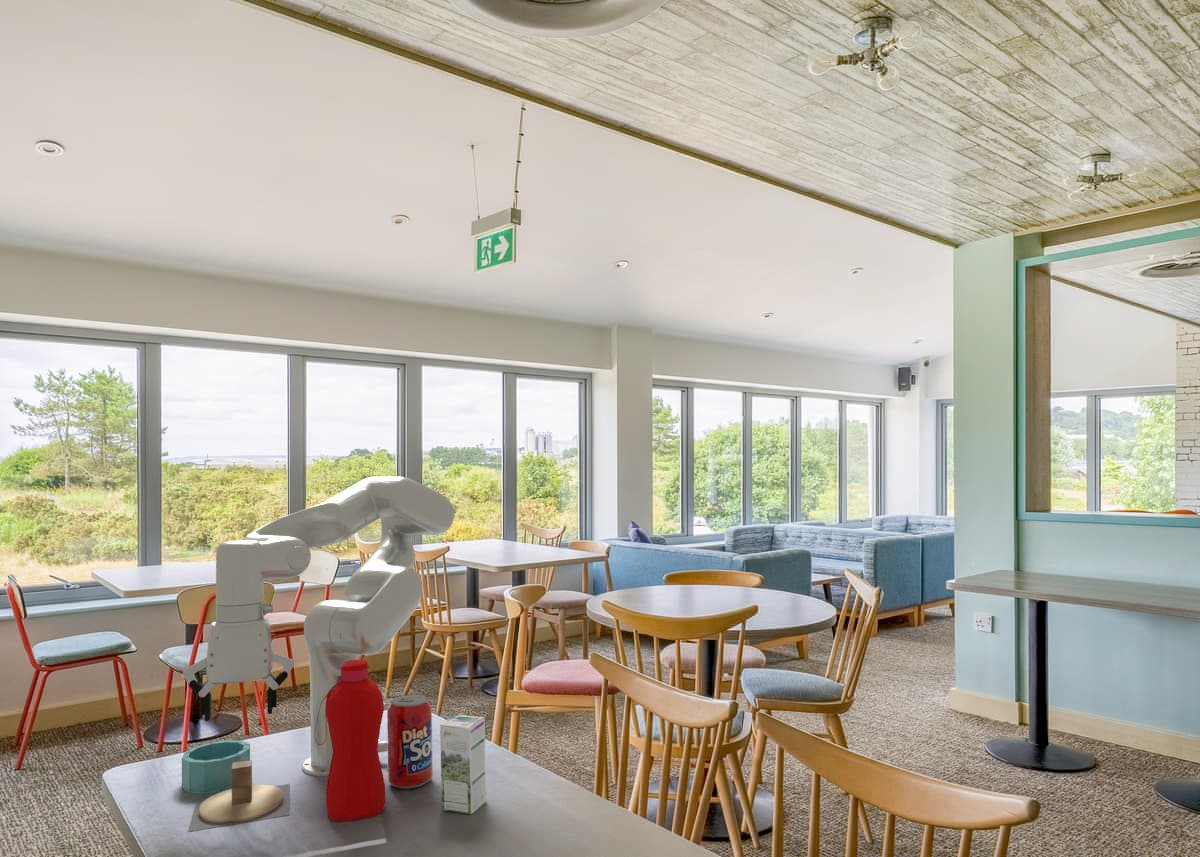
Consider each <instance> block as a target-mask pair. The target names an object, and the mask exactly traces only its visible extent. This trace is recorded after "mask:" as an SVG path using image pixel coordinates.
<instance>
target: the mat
mask: <svg viewBox="0 0 1200 857" xmlns="http://www.w3.org/2000/svg"><path fill="white" fill-rule="evenodd" d="M274 786H275V787H278V788H280V789H281V790H282V791H283V803H282V804H281V805H280V806H279V807H278V808H277V809H275V810H274V811H272V812H270V813H268V814H266V815H264V816H261V817H258V818H255V819H251V820H247V821H242V822H236V823H211V822H207V821H205V820H203V819H201V817H200V815H199V808H200V805H201V804H202V802H203V801H205V800H206V799H207V798H209V797H211V796H212V795H208V796H207V795H206V796H199V797H197V799H196V802H195V806H194V810H193V813H192V816H191V820H190V822H189V826H188V829H187V832H188V833H191V832H198V831H204V830H208V829H214V828H215V829H216V828H222V827H229V826H233V825H240V824H246V823H252V822H257V821H258V822H259V821H264V820H270V819H276V818H282V817H288V816H290V807H291V806H290V803H291V802H290V800H291V798H290V797H291V796H290V795H291V794H290V792H291V791H290V790H291V785H290V783H286V784H279V785H274Z"/></svg>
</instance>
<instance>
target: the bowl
mask: <svg viewBox="0 0 1200 857" xmlns="http://www.w3.org/2000/svg"><path fill="white" fill-rule="evenodd" d="M248 760H251V744H250V743H248V742H245V741H243V740H221V741H219V740H218V741H212V742H207V743H204V744H201V745H200V744H199V745H197V746H194V747H192V748H191V749H189V750H186V751H185V752H183V755H182V758H181V787H182V789H183V790H184V792H187V793H190V794H196V795H197V794H202V795H203V794H212V793H213V794H214V793H219V792H222V791H225V790H228V789H232V764H233V763H234V762H241V761H248Z"/></svg>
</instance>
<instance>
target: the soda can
mask: <svg viewBox="0 0 1200 857" xmlns="http://www.w3.org/2000/svg"><path fill="white" fill-rule="evenodd" d="M428 699H429V697H427V696H426V695H423V694H406V695H401V696H397V697H395V698H393V699H391V701H390V703H391V704H390V706H389V707H388V709H387V712H386V720H387V722H386V725H387V726H386V727H387V729H386V730H387V745H388V751H387V780H388V783H389V784H390V785H391V786H393V787H395V788H397V789H399V790H400V789H401V790H412V789H417V788H421V787H423V786H424V785H425V784H427V783H428V782H430V780H432V778H433V775H434V774H433V773H434V772H433V771H434V770H433V768H434V767H433V723H432V722H433V716H432V715H433V714H432V712H433V711H432V705H431V704H430V702H429V701H428Z"/></svg>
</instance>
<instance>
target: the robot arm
mask: <svg viewBox="0 0 1200 857" xmlns="http://www.w3.org/2000/svg"><path fill="white" fill-rule="evenodd" d="M379 519H380V526H381V528H380V529H381V538H380V543H379V545H378V547H377V548H376V549H375V550H374V551H373V553H371V555H370V556H369V557H368V558H367V559H366V560H365V561H364V562H363V563H362V564H361V565H360V566H359V567H358V568H357V569H356V570H355V572H354V573H353V574H352V575H351V577H349V579H348V581H347V582H346V584H345V587H344V593H343V594H344V599H345V600H344V599H328V600H323V601H320V602H318V603H316V604H314V605H313V606H312V607H311V608H310V610H308V612H307V614H306V616H305V620H304V624H303V633H304V641H305V646H306V650H307V655H308V661H309V684H310V685H309V692H310V693H309V696H310V697H309V698H310V699H309V700H310V701H309V702H310V704H309V705H310V707H309V708H310V709H309V710H310V711H309V712H310V714H309V715H310V716H309V718H310V719H309V720H310V756H309V757H308V758H307V759H305V760H304V761H303V763H302V764H301V767H302V769H301V770H302V772H303V773H305V774H307V775H309V776H315V777H328V775H329V770H330V765H331V760H332V755H333V749H332V743H331V737H330V732H329V726H328V722H327V717H326V716H325V707H326V700H327V696H326V695H327V694H328V692H329V690H330V689H331V688H332V687H333V686H334V685H335V684H336V683H337V680H339V677H338V676H341V665H342V664H343V663H345V662H347V661H349V660H360V658H359V656H358V655H364V656H365V655H366V656H367V655H369V656H370V655H374V654H377V653H379V652H380V651H382V650H383V649H384V648H386V647H387V645H388V644H389V643H390V642H391V641H392V640H393V639H394V638H395V636H396V635H397V634H398V632H399V631H401V628H402V627H403V626H404V625H405V624H406V623H407V621H408V620H409V619H410V617H411V616H412V615H413V614H414V612H415V611H416V610H417V608H418V606H419V604H420V601H421V599H422V594H423V581H422V578H421V576H420V575H419V573H418V572H417V571H416V570H415V569H413V568H414V565H415V564H416V563H415V562H416V553H415V548H414V543H413V537H412V536H413V535H422V536H423V535H425V536H427V535H428V536H434V535H436V536H438V535H441V534H444V533H446V532H447V531H448V530H450V528H451V527H452V525H453V522H454V521H455V520H454V519H455V511H454V506H453V504H452V502H451V501H450V500H449V498H448V497H446V496H445V495H443V494H441V492H438V491H436V490H434V489H432V488H430V487H428V486H426V485H424V484H422V483H421V482H418V481H417V480H414V479H411V478H408V477H406V476H400V475H399V476H396V475H395V476H370V477H366V478H364V479H362V480H360V481H358V482H356V483H354V484H352V485H351V486H349V487H347V488H346V489H344V490H343V491H340V492H339V493H338V494H335V495H334V496H332V497H330V498H328V499H327V500H325V501H323V502H320V503H319V504H318V503H317V504H316V505H312V506H309V507H306V508H304V509H301V510H299V511H296V512H293V513H291V514H287V515H285V516H281V517H279V518H277V519H273V520H272V521H270V522H268V523H265V524H264V525H262V526H261V527H259V528H257V529H255V530H253V531H252V532H249V533H248V534H247V535H245V536H244V537H243V538H242V539H238V540H236V539H235V540H234V539H233V540H228V541H224V542H221V543H219V545H217V547H216V554H215V621H213V622H211V623H210V628H209V634H208V642H207V651H206V657H204V658H202V659H201V660H199V661H197V662H195V663H193V664H191V665H190V666H188V667H187V668H185V669H184V670H183V671H182V676H183V678H184V680H185V681H186V683H187V684H188V686H189V688H190V689H191V690H192V691H194V692H195V693H196V694H197V695H198V696H199V698H200V716H204V722H209V721H210V720H211V718H212V693H211V690H212V689H213V688H214V687H215V685H227V684H235V683H247V682H256V681H262V680H263V682H264V683H265V684H266V685H267V686H268V687H267V711H266V712H267V714H268V715H272V714H273V708H277V705H278V704H277V701H278V700H277V694H278V693H277V691H278V689H279V687H280V685H282V684H283V683H284V682H285V681H286V679H287V678H288V676H289V675H290V673H291V671H292V669H293V667H294V665H295V660H294V659H292V658H290V657H287V656H284V655H282V654H279V653H277V652H275V651H273V646H272V631H271V625H270V620H269V618H267V617H265V616H266V614H269V613H273V611H274V610H273V607H274V605H273V604H269V603H266V602H265V580H269V579H270V580H276V579H277V580H278V579H279V580H288V579H292V578H296V577H298V576H300V575H302V574H303V573H304V572H305V571H306V570H307V569H308V567H309V565H310V563H311V560H312V555H311V554H312V553H311V548H312V549H313V548H318V547H319V548H321V547H325V546H331V545H334V544H339V543H342V542H344V541H346V540H348V539H350V538H351V537H353V536H354V535H355V534H357V533H359V532H360V531H362V530H363V529H365V528H366V527H367V526H369V525H372V523H374V522H376V521H377V520H379ZM273 662H275V663H276V664H280V665H282V666H283V668H282V669H281V672H279V673H278V674H277V675H276V676H274V674H273V673H272V669H273ZM205 668H206V669H205ZM203 669H205V673H206V681H205V682H204V684H203V683H202V682H201V681H199V680H198V678H196V676H195V674H196V673H197V672H199V671H201V670H203ZM337 677H338V679H337ZM325 696H326V698H325ZM324 698H325V699H324ZM323 699H324V700H323ZM322 700H323V702H322ZM321 702H322V704H321ZM320 705H321V707H320ZM319 708H320V711H319ZM318 712H319V715H318ZM317 716H318V719H317ZM316 720H317V724H316ZM315 726H316V731H315ZM326 726H327V735H326ZM315 738H316V741H315ZM325 738H326V740H325ZM324 741H325V742H324ZM316 742H317V743H318V744H322V743H323V742H324V744H323V745H318V744H317V743H316ZM377 750H378V754H379V753H384V752H388V740H384V741H381V740H380V738H379V742H378V749H377Z"/></svg>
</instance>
